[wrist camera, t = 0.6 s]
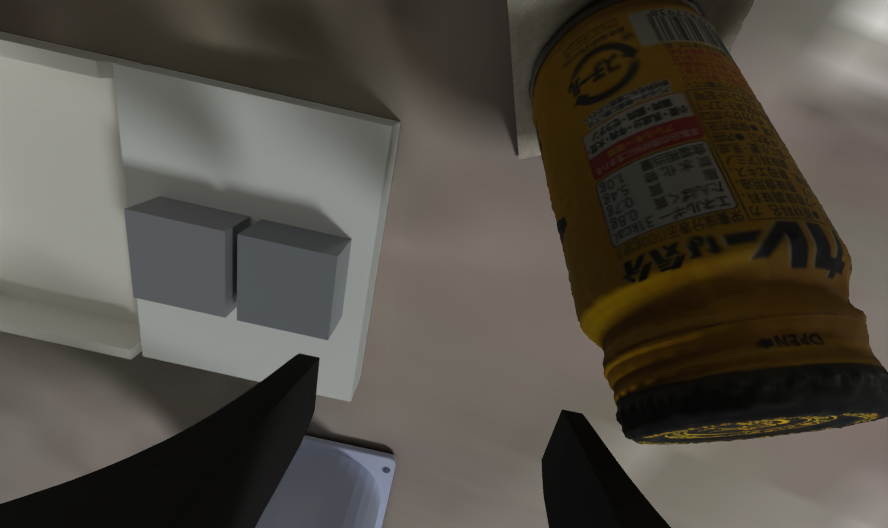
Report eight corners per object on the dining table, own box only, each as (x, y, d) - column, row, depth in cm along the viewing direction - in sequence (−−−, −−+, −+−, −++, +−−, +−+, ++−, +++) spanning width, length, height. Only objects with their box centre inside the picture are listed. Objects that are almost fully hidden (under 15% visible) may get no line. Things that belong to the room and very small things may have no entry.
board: (360, 377, 24) (350, 402, 22) (168, 335, 24) (142, 356, 22) (401, 122, 18) (392, 126, 16) (149, 65, 18) (112, 63, 16)
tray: (163, 333, 24) (131, 359, 22) (-8, 296, 24) (-58, 318, 22) (142, 63, 18) (96, 60, 16) (-82, 12, 18) (-160, 3, 16)
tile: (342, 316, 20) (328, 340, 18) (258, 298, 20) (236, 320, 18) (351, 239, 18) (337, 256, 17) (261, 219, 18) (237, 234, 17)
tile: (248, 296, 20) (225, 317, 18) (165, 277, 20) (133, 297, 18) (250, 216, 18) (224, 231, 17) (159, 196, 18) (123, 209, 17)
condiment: (518, 156, 18) (578, 457, 13) (501, -63, 11) (624, 414, 5) (696, 122, 17) (850, 434, 12) (807, -145, 10) (1367, 340, 4)
